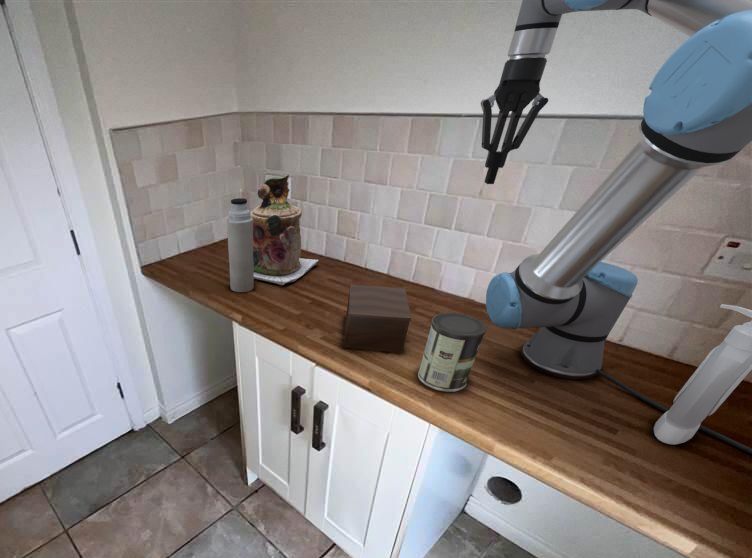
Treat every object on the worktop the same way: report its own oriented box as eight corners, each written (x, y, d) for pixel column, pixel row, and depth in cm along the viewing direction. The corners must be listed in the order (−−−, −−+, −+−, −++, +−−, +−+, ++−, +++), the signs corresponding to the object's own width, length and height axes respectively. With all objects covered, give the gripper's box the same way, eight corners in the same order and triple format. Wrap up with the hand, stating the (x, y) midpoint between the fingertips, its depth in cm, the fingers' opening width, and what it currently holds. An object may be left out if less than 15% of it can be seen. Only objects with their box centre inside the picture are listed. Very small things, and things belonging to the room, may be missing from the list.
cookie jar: (264, 255, 163) (264, 166, 144) (319, 265, 152) (327, 170, 132) (228, 275, 147) (223, 178, 128) (288, 288, 135) (292, 184, 116)
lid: (410, 321, 95) (411, 318, 94) (348, 316, 98) (348, 313, 97) (404, 290, 108) (405, 288, 108) (349, 287, 111) (350, 284, 111)
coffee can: (460, 367, 95) (479, 313, 86) (471, 394, 87) (493, 337, 78) (414, 364, 97) (428, 310, 88) (420, 389, 89) (437, 333, 80)
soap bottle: (650, 404, 82) (733, 292, 68) (701, 425, 77) (803, 308, 62) (625, 430, 76) (709, 314, 62) (678, 454, 71) (784, 334, 57)
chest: (401, 353, 101) (410, 319, 95) (343, 347, 104) (348, 314, 98) (397, 322, 114) (404, 291, 108) (345, 318, 117) (349, 287, 111)
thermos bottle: (248, 281, 142) (246, 195, 125) (257, 289, 135) (256, 200, 119) (227, 285, 139) (222, 198, 123) (235, 293, 133) (231, 203, 117)
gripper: (556, 56, 85) (514, 180, 99) (488, 60, 88) (457, 179, 102) (570, 54, 79) (523, 186, 93) (496, 58, 82) (462, 185, 96)
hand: (489, 182), depth 97 cm, fingers closed
